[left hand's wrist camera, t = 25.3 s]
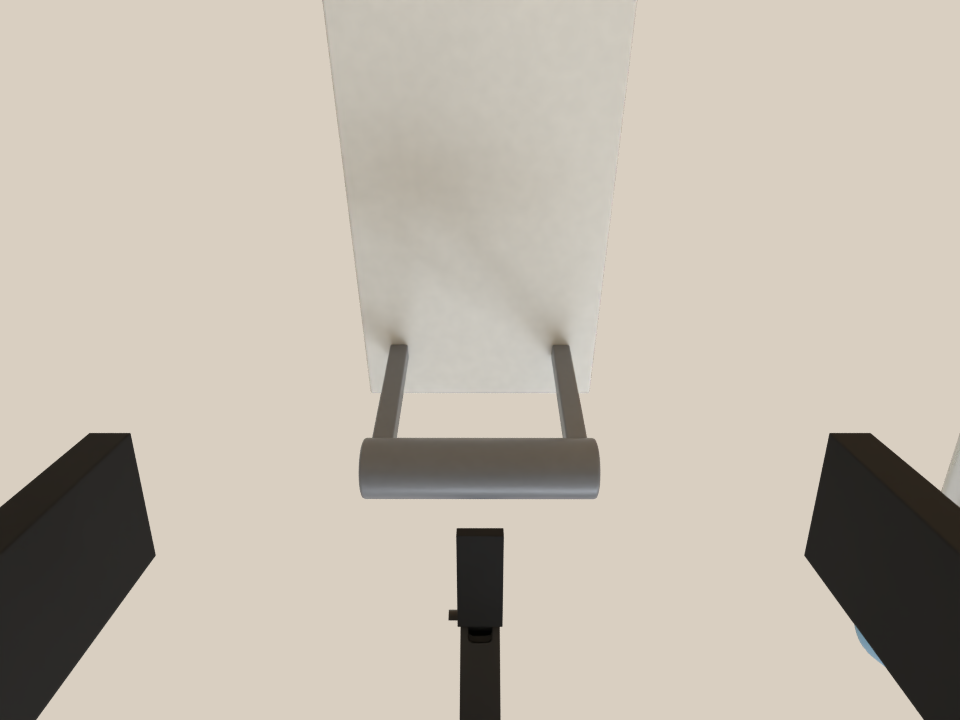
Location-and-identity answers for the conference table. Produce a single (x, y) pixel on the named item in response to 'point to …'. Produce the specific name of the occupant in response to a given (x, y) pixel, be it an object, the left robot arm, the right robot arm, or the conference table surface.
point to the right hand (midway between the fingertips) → (480, 615)
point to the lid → (479, 222)
